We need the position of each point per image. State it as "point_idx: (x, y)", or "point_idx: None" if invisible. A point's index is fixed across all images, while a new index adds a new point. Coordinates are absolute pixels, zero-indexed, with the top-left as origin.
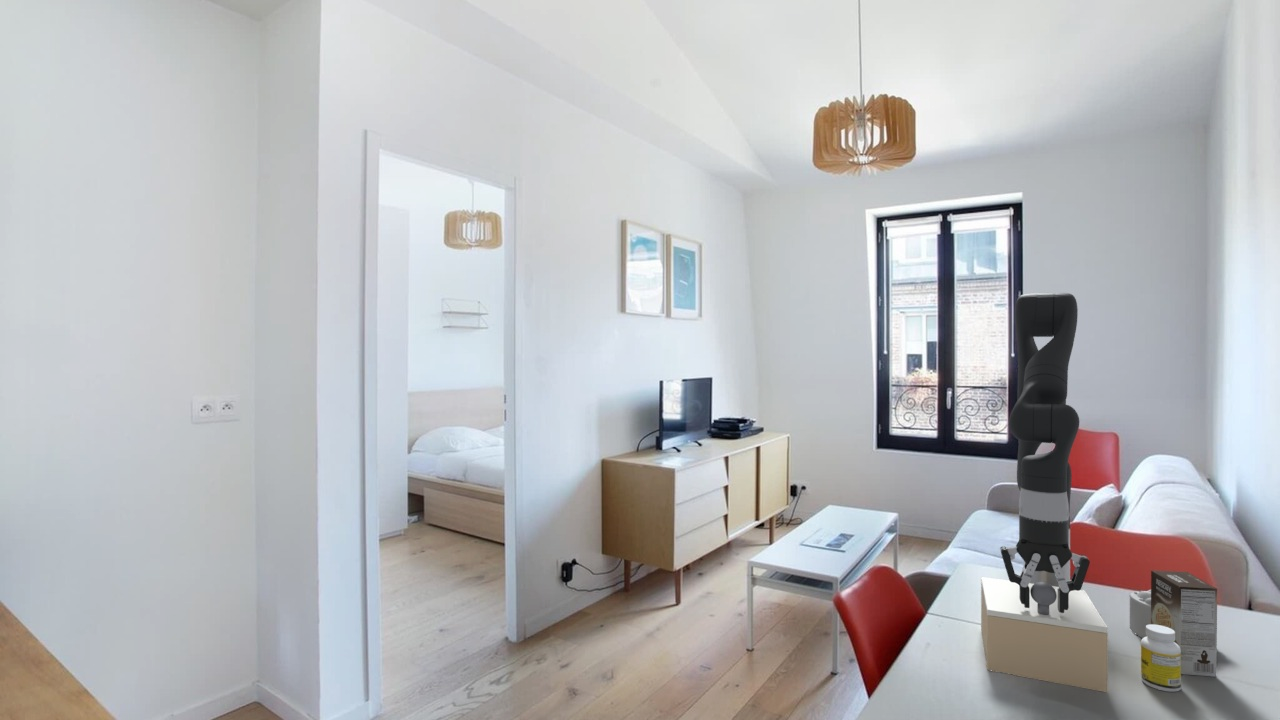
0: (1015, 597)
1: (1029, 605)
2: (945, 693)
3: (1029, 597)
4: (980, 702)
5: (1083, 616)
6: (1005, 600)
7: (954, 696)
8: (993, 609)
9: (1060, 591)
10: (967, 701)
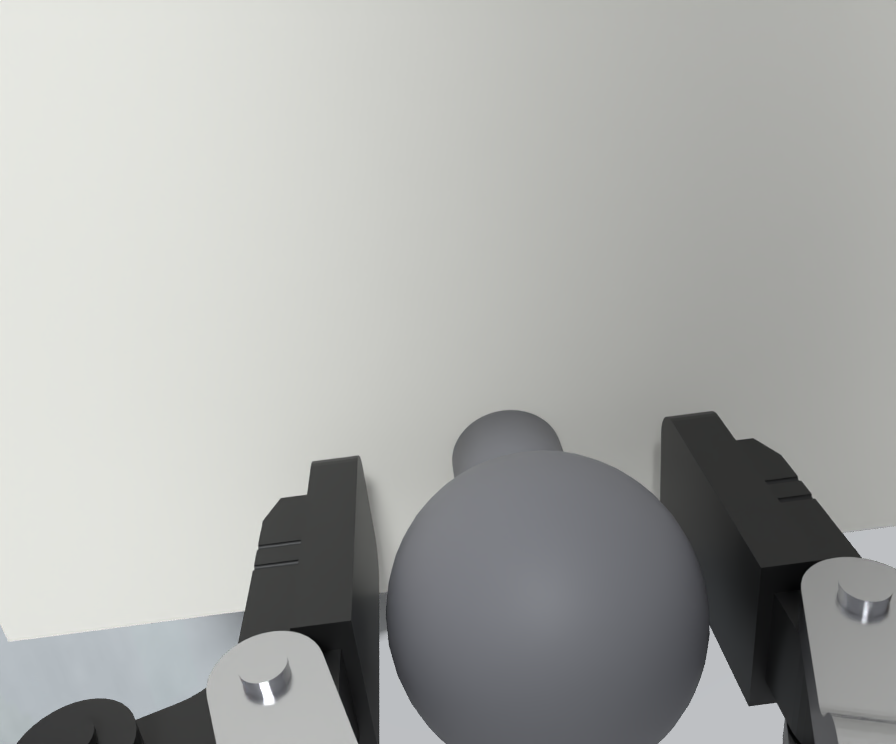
0: (180, 74)
1: (378, 581)
2: (50, 682)
3: (378, 651)
4: (200, 676)
5: (891, 346)
6: (93, 279)
7: (91, 686)
8: (56, 614)
9: (767, 682)
10: (151, 694)
